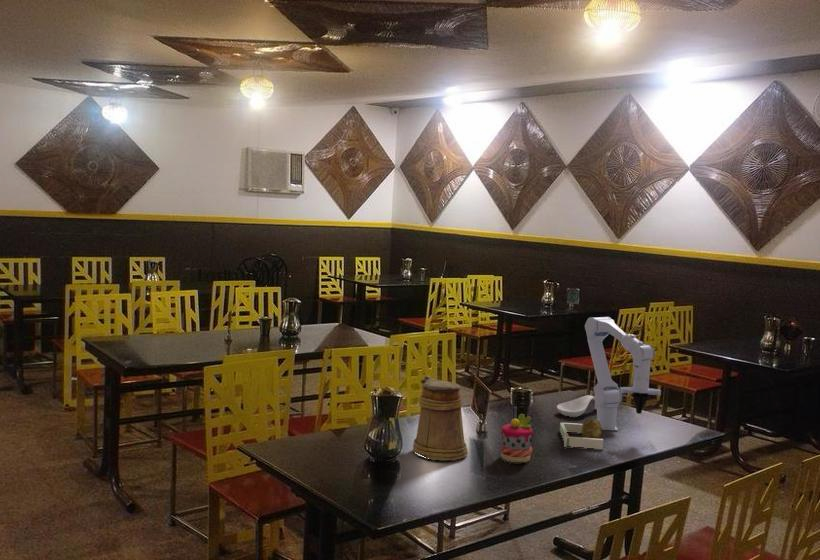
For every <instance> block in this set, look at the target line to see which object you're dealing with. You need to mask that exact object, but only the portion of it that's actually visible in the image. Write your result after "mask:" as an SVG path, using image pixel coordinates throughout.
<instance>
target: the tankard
mask: <svg viewBox="0 0 820 560" xmlns="http://www.w3.org/2000/svg"><path fill="white" fill-rule="evenodd" d="M420 383H421V384H422V387H421V395H420V398H419V402H418V406H419V407H420V411H419V419H418V425H417V429H416V430H417V431H416V438H415V439H414V440H413V444H412V451H413V450H414V451H415V452H416V453H418V454H420V455H422V456H424V457H426V458H429V459H433V460H432V461H435V460H452V461H457V459H459V460H461V458H462V459H464V458H466V457H467V456H468V454H469V451H468V447H467V443H466V442H465V435H464V434H465V433H464V425H463V416H462V415H463V414H462V413H463V412H462V406H463V399H462V398H463V397H462V395H460V390H461V385H460V384H459V383H456V382H452V381H446V380H440V379H436V378H433V377H432V376H431V375H430V374H426V375H424V378H422V379H421V380H420Z"/></svg>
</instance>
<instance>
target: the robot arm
mask: <svg viewBox="0 0 820 560" xmlns="http://www.w3.org/2000/svg"><path fill="white" fill-rule="evenodd" d="M584 330H585V332H586V337H587V343H588V348H589V352H590V356H591V360H592V364H593V368H594V373H595V375H596V376H595V377H596V379H597V383H596V384H595V386H594V387H593V391H594V392H593V393H594V396H593V397H594V399H595V401H594V403H595V402H596V403H597V405H598V408H597V410H596V420H598V421H599V422H600V424H601V427H602V431H614V430H615V431H619V429H618V427H617V413H618V412H617V411H618V407H619V404H620V403H621V402H622V400H623V395H622V394H631V396H632V399H633V401H634V405H635V410H636V411H635V412H636V414H638V415H641V414H642V411H643V409H644V406H645V404H646V402H647V401H648V400H649V395H650V396H651V395H652V396H660V397H661V394H662V393H661V392H662V390H661V389H656V388H650V372H651V361H652V360H653V359H654V358H655V354H656V353H655V349H654V348H653V346H652V345H651V344H644V342H643V341H642V340H639V339H638V338H636V335H635V334H633V333H632V334H630V333H626V332H625V331H624V330H622V328H620V327H619V325H617V324H616V323H615V319H612V318H611V317H610V316H600V317H598V316H597V317H592V316H591V317H588V318H587V320H586V322H585V324H584ZM609 335H611V336H612V337H614V338H615V339H616V340H618V341H620V345H621V346H622V347H623V348H624V349H625V350H626V351H627V352H628V353H630V354H631V357H632V363H633V374H632V375H633V376H632V377H633V378H632V386H623V387H622V386H620V387H619V386H618V383H616V382H615V381H614V380H613V379H612V376H611V371H610V368H609V364H608V360H607V357H606V356H607V355H606V353H605V348H604V344H603V341H604V340H605V338H607V337H608V336H609ZM594 399H593V400H594Z"/></svg>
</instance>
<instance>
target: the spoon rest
mask: <svg viewBox="0 0 820 560" xmlns="http://www.w3.org/2000/svg"><path fill="white" fill-rule="evenodd" d="M592 400H594V410H596V411H597V408H598V405H597V403H596V402H595V399H594V396H593V395H590V394H589V395H584V396H581V397H578V398H575V399H572V400H569V401H566V402H561V403H559V404H557V406H556V409H557V411H558V412H559V413H560V414H561V415H562V416H565V417H567V416H569V417H568V418H579V417H580V416H581V415H583V414H584V413H585V412H586V410H587V409H588V406H589V404H590V402H591V401H592ZM578 416H579V417H578Z"/></svg>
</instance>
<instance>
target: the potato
mask: <svg viewBox="0 0 820 560" xmlns="http://www.w3.org/2000/svg"><path fill="white" fill-rule="evenodd" d="M582 424H583V426H582V434H581V438H595V439H601V437H602V433H603V432H602V431H603V430H602V427H601V424H600V422H599V421H598V420H597V418H587V419H586V420H585V421H584V422H583V423H582Z"/></svg>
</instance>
